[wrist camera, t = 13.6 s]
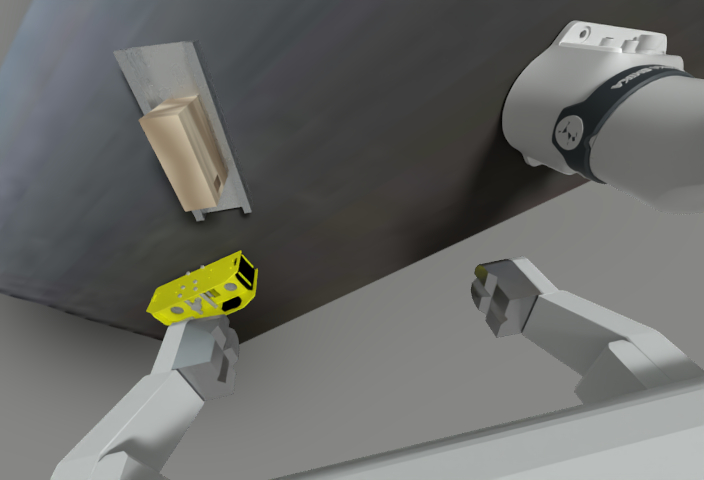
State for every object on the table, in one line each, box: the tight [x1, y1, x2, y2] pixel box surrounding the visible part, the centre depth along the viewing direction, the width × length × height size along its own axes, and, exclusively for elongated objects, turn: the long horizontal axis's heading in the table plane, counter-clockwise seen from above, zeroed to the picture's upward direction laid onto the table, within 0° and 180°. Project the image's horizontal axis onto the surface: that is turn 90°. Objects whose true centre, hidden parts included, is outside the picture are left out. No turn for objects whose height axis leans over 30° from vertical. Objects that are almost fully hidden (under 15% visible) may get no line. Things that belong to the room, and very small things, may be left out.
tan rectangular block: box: [139, 96, 228, 212], centre depth 34 cm, size 4×10×8 cm, turn 5°
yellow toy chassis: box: [146, 250, 258, 325], centre depth 48 cm, size 16×6×8 cm, turn 112°
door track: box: [113, 40, 254, 221], centre depth 37 cm, size 8×20×3 cm, turn 5°
